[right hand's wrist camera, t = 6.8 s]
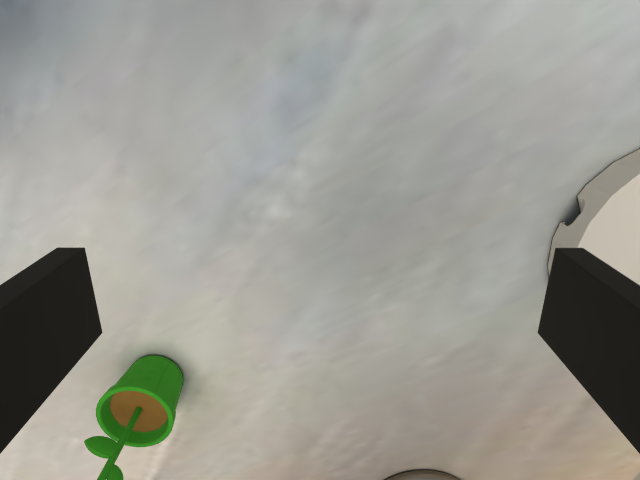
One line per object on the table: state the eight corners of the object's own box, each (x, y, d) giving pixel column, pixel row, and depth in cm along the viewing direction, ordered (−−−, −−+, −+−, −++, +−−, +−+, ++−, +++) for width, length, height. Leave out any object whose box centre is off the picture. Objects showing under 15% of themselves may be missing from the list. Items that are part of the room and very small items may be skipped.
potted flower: (107, 379, 51) (-75, 640, 27) (139, 333, 48) (-28, 574, 25) (177, 418, 53) (63, 691, 29) (211, 375, 50) (118, 635, 27)
